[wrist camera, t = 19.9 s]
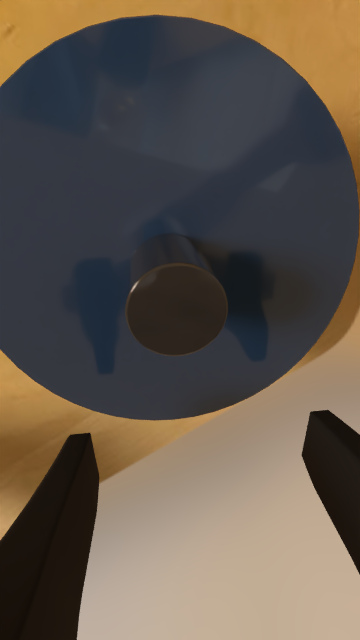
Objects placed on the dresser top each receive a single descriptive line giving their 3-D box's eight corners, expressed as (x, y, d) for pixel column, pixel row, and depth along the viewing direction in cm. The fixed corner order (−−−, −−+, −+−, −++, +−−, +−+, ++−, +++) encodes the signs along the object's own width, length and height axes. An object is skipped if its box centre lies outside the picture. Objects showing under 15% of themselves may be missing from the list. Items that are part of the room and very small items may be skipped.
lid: (382, 28, 10) (541, -53, 6) (312, 389, 16) (366, 466, 12) (-102, 28, 8) (-298, -71, 5) (23, 416, 15) (-19, 510, 11)
